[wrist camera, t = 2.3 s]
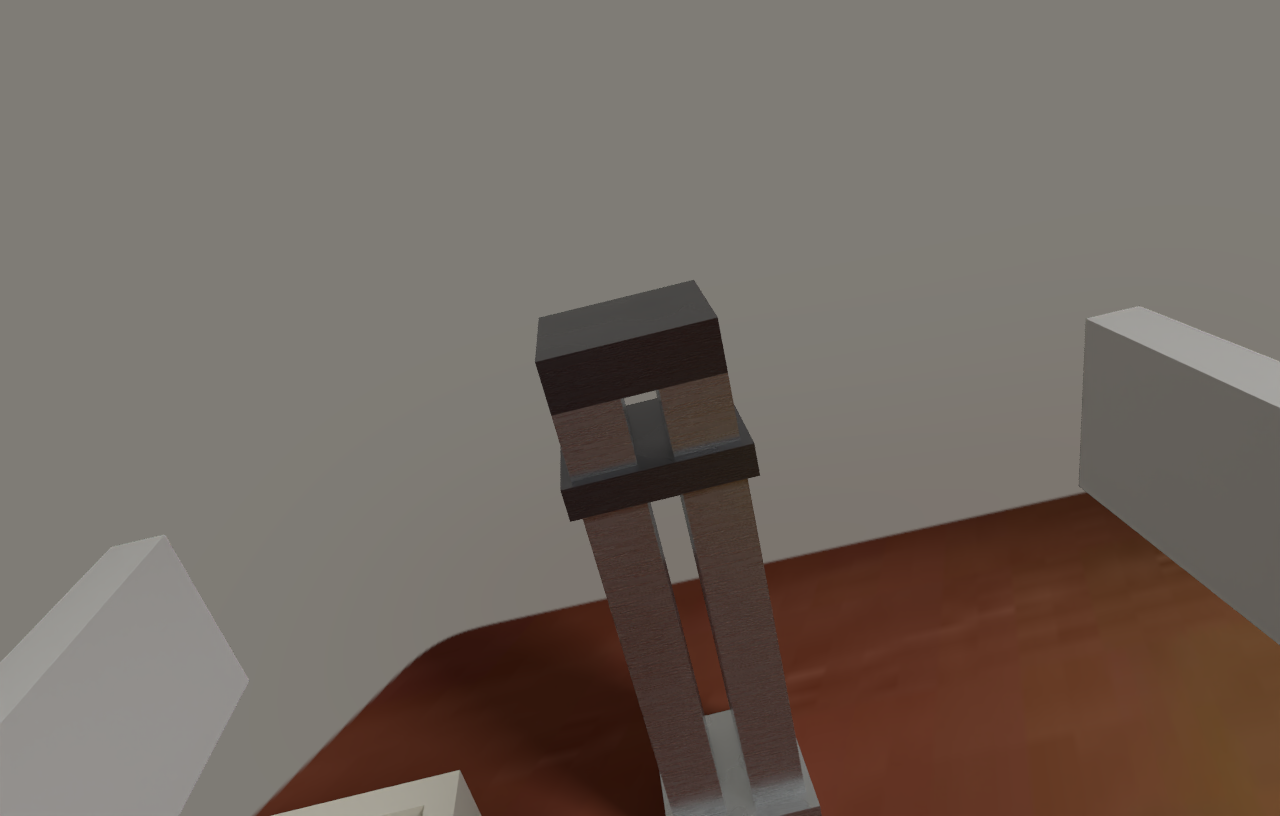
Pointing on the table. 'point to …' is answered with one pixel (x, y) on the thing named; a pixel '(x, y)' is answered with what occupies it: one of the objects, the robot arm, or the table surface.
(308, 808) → the open box
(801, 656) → the table surface
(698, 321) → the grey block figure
